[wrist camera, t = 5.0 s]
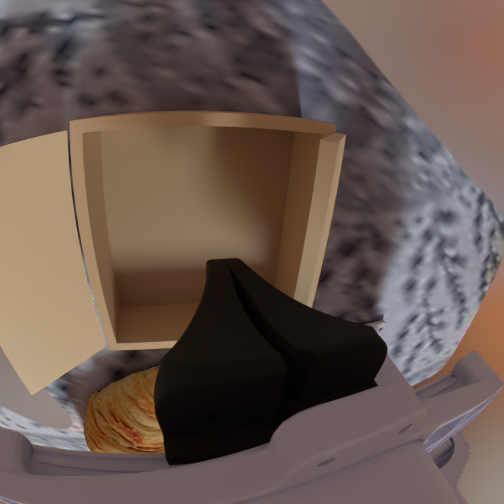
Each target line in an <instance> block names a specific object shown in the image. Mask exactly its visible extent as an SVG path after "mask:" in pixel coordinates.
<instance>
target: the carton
mask: <svg viewBox="0 0 504 504" xmlns="http://www.w3.org/2000/svg"><path fill="white" fill-rule="evenodd" d="M335 128H336V124H332V123H327V122H322V121H317V120H312V119H306V118H300V117H292V116H283V115H274V114H263V113H250V112H233V111H205V110H174V111H145V112H129V113H117V114H107V115H97V116H90V117H86V118H81V119H76V120H72V121H70V151H71V166H72V178H73V188H74V197H75V205H76V212H77V219H78V226H79V232H80V237H81V243H82V248H83V253H84V258H85V263H86V268H87V272H88V277H89V281H90V285H91V289H92V293H93V297H94V301H95V304H96V308H97V311H98V315H99V318H100V322H101V325H102V328H103V332H104V335H105V338H106V341H107V344H108V347H109V350H140V349H160V348H172V347H173V346H174V345H175V344H176V342H177V341H178V340H179V338H180V337H181V335H182V334H183V333H184V331H185V330H186V328H187V327H188V325H189V323H190V321H191V320H192V318H193V316H194V314H195V312H196V310H197V308H198V305H199V303H200V300H201V297H202V294H203V291H204V288H205V283H206V262H207V261H208V260H209V259H226V258H239V259H240V260H242V261H243V262H244V263H245V264H246V265H247V266H249V267H250V268H251V269H252V270H253V271H255V272H256V273H257V274H258V275H259V276H261V277H262V278H263V279H265V280H266V281H267V282H269V283H270V284H271V285H273V286H274V287H276V288H277V289H279V290H280V291H281V292H283V293H285V294H286V295H288V296H290V297H291V298H293V299H294V295H295V290H296V285H297V280H298V275H299V270H300V264H301V259H302V253H303V248H304V242H305V237H306V231H307V225H308V219H309V213H310V207H311V201H312V194H313V188H314V181H315V175H316V168H317V161H318V154H319V146H320V140H321V139H323V138H325V137H327V136H330V135H332V134H334V133H335Z"/></svg>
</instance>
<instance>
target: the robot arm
mask: <svg viewBox="0 0 504 504" xmlns="http://www.w3.org/2000/svg"><path fill="white" fill-rule="evenodd" d="M385 325H386V322H385V321H384V320H381V321H376V322H372V323H368V324H359V323H355V322H351V321H347V320H343V319H340V318H337V317H334V316H331V315H328V314H325V313H323V312H320V311H318V310H316V309H313V308H311V307H309V306H307V305H304V304H302V303H300V302H299V301H297V300H295V299H293V298H291V297H290V296H288V295H286V294H285V293H283V292H281V291H280V290H279V289H277V288H276V287H274V286H273V285H271V284H270V283H269V282H267V281H266V280H265V279H263V278H262V277H261V276H259V275H258V274H257V273H256V272H255V271H253V270H252V269H251V268H250V267H249V266H247V265H246V264H245V263H244V262H243V261H242V260H240V259H239V258H226V259H209V260H208V261H207V262H206V283H205V288H204V291H203V294H202V297H201V300H200V303H199V305H198V308H197V310H196V312H195V314H194V316H193V318H192V320H191V321H190V323H189V325H188V327H187V328H186V330H185V331H184V333H183V334H182V335H181V337H180V338H179V340H178V341H177V342H176V344H175V345H174V346H173V347H172V348H171V349H170V350H169V352H168V353H167V354H166V355H165V356H164V357H163V358H162V360H161V363H160V366H159V369H158V373H157V377H156V381H155V386H154V408H155V415H156V418H157V421H158V423H159V426H160V429H161V431H162V434H163V441H164V449H165V453H147V454H122V453H98V452H85V451H74V450H66V449H58V448H51V447H45V446H39V445H33V444H31V442H30V441H29V440H28V439H27V438H26V437H25V436H24V435H23V434H21V433H19V432H16V431H13V430H9V429H4V428H0V500H1V501H3V502H5V503H7V504H468V503H467V502H466V500H465V498H464V497H463V495H462V494H461V492H460V490H459V489H458V487H457V484H458V482H459V480H460V478H461V475H462V473H463V471H464V469H465V467H466V464H467V462H468V460H469V457H470V451H469V449H470V445H469V443H468V442H467V440H466V439H465V437H464V435H463V432H462V430H461V429H462V428H463V427H464V426H465V425H467V424H468V423H469V422H470V421H472V420H473V419H474V418H475V417H476V416H477V415H478V414H479V413H480V412H481V411H482V410H483V409H484V407H486V406H487V404H488V403H489V402H490V401H491V400H492V399H493V398H494V397H495V395H496V394H497V393H498V392H499V390H501V388H502V387H503V386H504V383H503V381H502V380H501V379H500V378H499V377H498V375H497V374H496V373H495V372H494V371H493V370H492V369H491V368H490V366H489V365H488V364H487V363H486V362H485V361H484V360H483V358H482V357H481V356H480V355H479V354H478V353H477V352H476V351H475V350H473V351H472V352H470V353H468V354H466V355H465V356H463V357H462V358H460V359H459V360H458V361H457V363H456V364H455V365H454V367H453V369H452V371H451V372H449V373H447V374H445V375H443V376H442V377H440V378H438V379H436V380H434V381H432V382H430V383H428V384H426V385H424V386H422V387H420V388H418V389H416V390H415V389H414V390H413V388H412V387H411V386H410V384H409V383H408V381H407V380H406V379H405V377H404V376H403V375H402V373H401V372H400V371H399V369H398V368H397V367H396V365H395V364H394V363H393V361H392V360H391V359H390V357H389V356H388V355H387V349H388V348H387V345H386V343H385V342H384V341H383V339H382V338H381V337H380V336H381V334H382V332H383V330H384V327H385ZM434 461H435V462H434Z"/></svg>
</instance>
